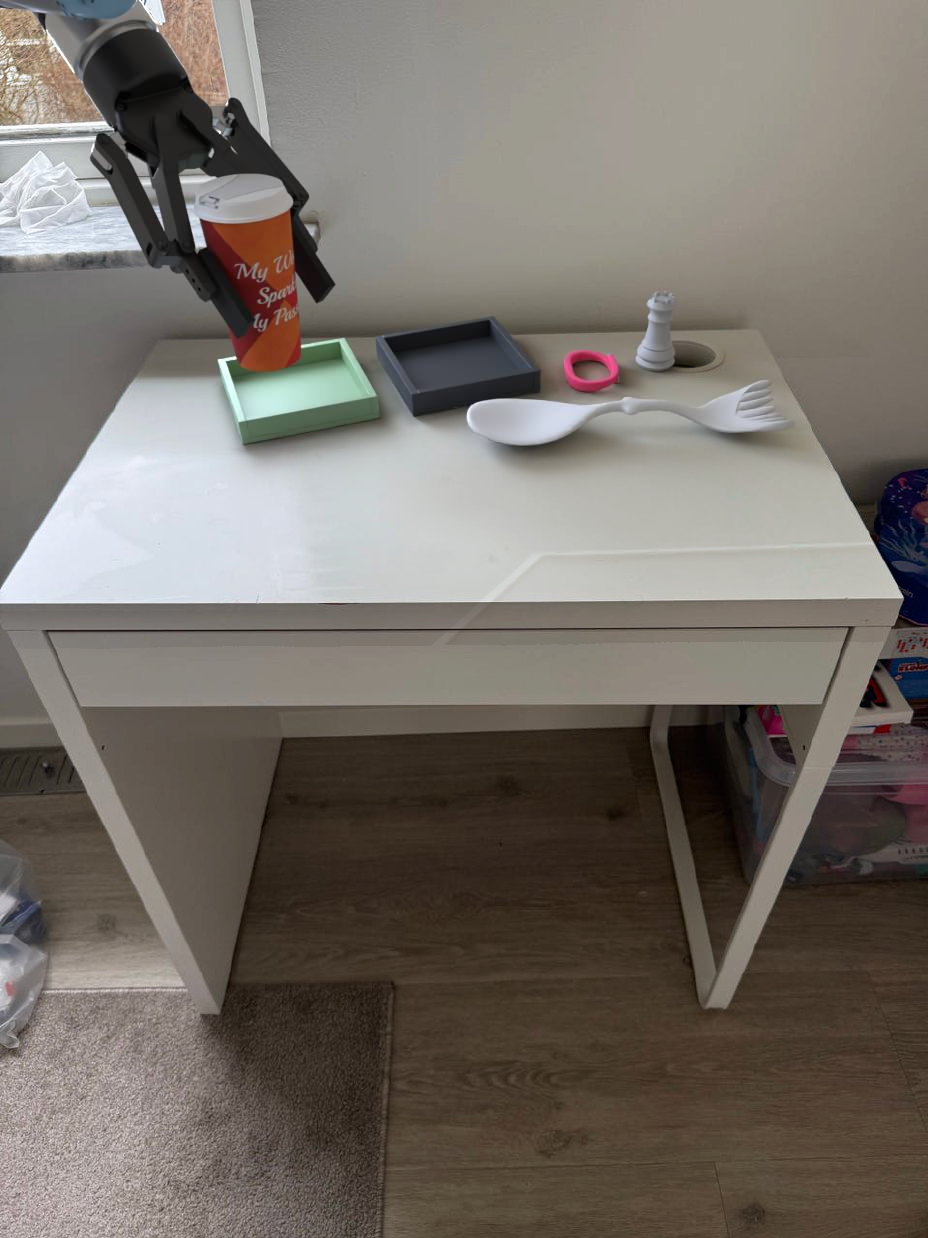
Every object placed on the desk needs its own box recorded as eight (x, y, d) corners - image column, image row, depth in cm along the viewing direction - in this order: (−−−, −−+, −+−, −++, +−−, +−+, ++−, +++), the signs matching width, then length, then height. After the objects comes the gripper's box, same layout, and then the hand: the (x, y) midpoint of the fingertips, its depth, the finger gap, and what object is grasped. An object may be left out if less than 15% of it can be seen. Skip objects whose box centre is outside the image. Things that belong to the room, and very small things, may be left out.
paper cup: (268, 386, 78) (237, 211, 68) (205, 361, 81) (168, 191, 72) (333, 350, 82) (312, 181, 73) (271, 327, 86) (244, 164, 76)
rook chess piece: (680, 359, 109) (690, 292, 103) (665, 376, 106) (674, 307, 100) (644, 351, 110) (652, 284, 105) (628, 366, 108) (635, 298, 102)
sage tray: (242, 444, 97) (238, 422, 95) (222, 380, 107) (217, 359, 106) (379, 417, 100) (377, 395, 99) (346, 358, 111) (344, 337, 109)
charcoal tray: (413, 416, 101) (411, 394, 99) (377, 356, 111) (375, 336, 109) (540, 391, 104) (540, 370, 102) (493, 336, 114) (493, 315, 112)
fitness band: (623, 392, 103) (624, 379, 102) (569, 394, 103) (570, 382, 102) (610, 357, 109) (611, 345, 108) (560, 359, 109) (560, 347, 108)
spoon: (789, 449, 94) (796, 419, 92) (468, 460, 94) (467, 429, 92) (765, 404, 101) (771, 374, 98) (466, 413, 101) (465, 384, 98)
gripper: (212, 66, 83) (359, 292, 86) (-7, 120, 71) (170, 379, 74) (240, 1, 76) (397, 247, 79) (4, 48, 65) (197, 334, 68)
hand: (287, 311), depth 77 cm, fingers closed on paper cup, 8 cm apart
